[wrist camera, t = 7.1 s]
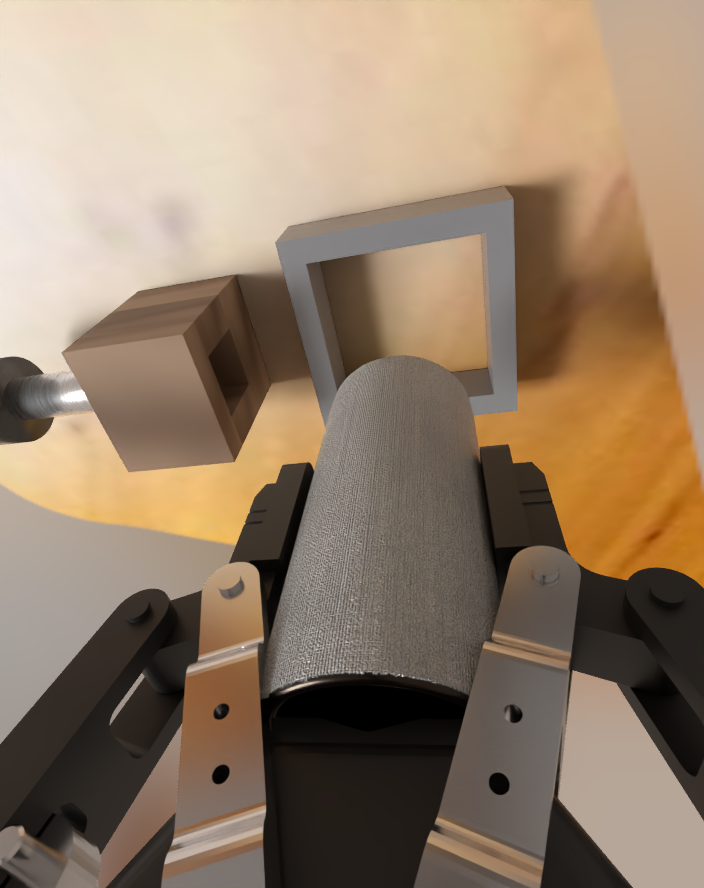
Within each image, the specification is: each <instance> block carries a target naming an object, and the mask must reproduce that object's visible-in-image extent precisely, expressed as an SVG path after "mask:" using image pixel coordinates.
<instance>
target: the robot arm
mask: <svg viewBox="0 0 704 888" xmlns="http://www.w3.org/2000/svg"><path fill="white" fill-rule="evenodd" d="M480 463H481V470H482V477H483V483H484V490H485V497H486V503H487V510H488V517H489V524H490V530H491V537H492V544H493V550H494V557H495V564H496V570H497V576H498V580H499V586H500V593H501V602H500V606H499V610H498V614H497V618H496V622H495V626H494V630H493V633H492V636H491V638H487V639H486V640H485V642H484V645H483V648H482V651H481V655H480V659H479V662H478V666H477V670H476V674H475V677H474V681H473V685H472V689H471V692H470V696H469V700H468V704H467V707H466V711H465V715H464V719H417V720H413V721H409V722H406V723H402V724H398V725H394V726H390V727H386V728H382V729H379V730H375V731H362V730H359V729H355V728H352V727H349V726H345V725H342V724H339V723H336V722H332V721H329V720H326V719H322V718H297V717H288V715H287V712H286V710H285V708H284V707H283V706H282V707H281V708H280V709H279V711H278V717H274V719H273V723H272V728H271V731H270V718H269V712H268V711H267V709H266V707H265V704H264V700H263V681H264V667H265V658H266V651H267V646H268V642H269V639H270V635H271V631H272V627H273V624H274V620H275V616H276V612H277V609H278V605H279V601H280V597H281V594H282V590H283V586H284V582H285V579H286V575H287V571H288V568H289V564H290V560H291V556H292V553H293V549H294V545H295V541H296V538H297V534H298V530H299V526H300V523H301V519H302V515H303V511H304V508H305V504H306V500H307V496H308V493H309V489H310V485H311V481H312V478H313V474H314V470H313V467H312V465H311V464H310V463H309V462H308V463H297V464H287V465H283V466H282V468H281V470H280V473H279V476H278V479H277V482H276V483H274V484H266V485H265V487H264V488H263V489H262V490H261V491H260V492H259V493H258V494H257V495H256V496H255V498H254V501H253V503H252V506H251V509H250V513H249V514H248V516H247V519H246V521H245V523H246V524H245V525H244V526H243V529H242V532H241V534H240V537H239V539H238V542H237V544H236V547H235V550H234V552H233V555H232V557H231V560H230V562H229V564H228V565H225V566H223V567H221V568H219V569H218V570H217V571H215V572H214V573H213V574H212V575H211V576H210V577H209V578H208V579H207V581H206V582H205V584H204V587H203V589H202V590H201V591H199V592H196V593H193V594H190V595H187V596H184V597H181V598H178V599H174V600H171V601H170V599H169V597H168V596H167V595H166V593H165V592H163V591H162V590H159V589H147V590H143V591H140V592H138V593H135V594H133V595H132V596H130V597H129V598H127V599H126V600H124V601H123V602H122V603H121V604H120V605H119V606H118V607H117V609H116V610H115V611H114V612H113V613H112V614H111V615H110V617H109V618H108V619H107V620H106V621H105V622H104V624H103V625H102V626H101V627H100V628H99V630H98V631H97V632H96V633H95V634H94V635H93V637H92V638H91V639H90V640H89V641H88V643H87V644H86V645H85V646H84V647H83V648H82V649H81V651H80V652H79V653H78V654H77V655H76V656H75V658H74V659H73V660H72V661H71V662H70V664H69V665H68V666H67V667H66V668H65V669H64V671H63V672H62V673H61V674H60V675H59V676H58V677H57V679H56V680H55V681H54V682H53V683H52V685H51V686H50V687H49V688H48V689H47V691H46V692H45V693H44V694H43V695H42V696H41V697H40V699H39V700H38V701H37V702H36V703H35V704H34V706H33V707H32V708H31V709H30V710H29V711H28V713H27V714H26V715H25V716H24V717H23V719H22V720H21V721H20V722H19V723H18V724H17V726H16V727H15V728H14V729H13V730H12V732H10V734H9V735H8V736H7V737H6V738H5V739H4V741H3V742H2V743H1V744H0V888H99V885H98V882H97V880H98V876H99V872H100V864H101V862H100V854H101V853H102V851H103V850H104V848H105V846H106V845H107V843H108V841H109V840H110V838H111V837H112V835H113V833H114V832H115V830H116V829H117V827H118V825H119V824H120V822H121V820H122V819H123V817H124V816H125V814H126V812H127V811H128V809H129V808H130V806H131V804H132V803H133V801H134V800H135V798H136V796H137V795H138V793H139V791H140V790H141V788H142V786H143V785H144V783H145V782H146V780H147V778H148V777H149V775H150V774H151V772H152V770H153V769H154V767H155V766H156V764H157V762H158V761H159V759H160V758H161V756H162V754H163V753H164V751H165V750H166V748H167V746H168V745H169V743H170V742H171V740H172V738H173V737H174V735H175V734H176V731H177V730H178V729H179V727H180V725H181V724H182V734H181V747H180V761H179V775H178V789H177V790H178V791H177V803H176V812H175V814H174V815H173V816H172V817H171V818H170V819H169V820H168V821H167V822H166V823H165V824H164V826H162V828H161V829H160V830H159V831H158V832H157V833H156V834H155V835H154V836H153V837H152V839H150V840H149V842H148V843H147V844H146V845H145V846H144V847H143V848H142V849H141V850H140V851H139V852H138V854H137V855H136V856H135V857H134V858H133V859H132V860H131V861H130V862H129V863H128V864H127V865H126V866H125V868H124V869H123V870H122V871H121V872H120V873H119V874H118V875H117V876H116V877H115V878H114V879H113V880H112V882H111V883H110V884H109V885H108V886H107V887H106V888H633V887H632V886H631V885H630V884H629V883H628V881H627V880H626V879H625V878H624V877H623V876H622V874H621V873H620V872H619V871H618V870H617V868H616V867H615V866H614V865H613V864H612V863H611V861H610V860H609V859H608V858H607V856H606V855H605V854H604V853H603V852H602V850H601V849H600V848H599V847H598V846H597V845H596V843H595V842H594V841H593V840H592V839H591V837H590V836H589V835H588V834H587V833H586V831H585V830H584V829H583V828H582V827H581V825H580V824H579V823H578V822H577V821H576V820H575V818H574V817H573V816H572V815H571V814H570V812H569V811H568V810H567V809H566V808H565V806H564V805H563V804H562V803H561V802H560V800H559V799H558V797H559V789H560V779H561V771H562V762H563V751H564V741H565V732H566V724H567V715H568V707H569V698H570V690H571V682H572V673H573V670H574V671H578V672H581V673H585V674H588V675H591V676H595V677H598V678H602V679H605V680H609V681H613V682H616V683H617V685H618V687H619V688H620V690H621V691H622V693H623V695H624V696H625V698H626V699H627V701H628V702H629V704H630V706H631V707H632V708H633V710H634V712H635V713H636V715H637V717H638V718H639V720H640V721H641V723H642V724H643V726H644V727H645V729H646V731H647V732H648V734H649V735H650V737H651V739H652V740H653V742H654V743H655V745H656V746H657V748H658V750H659V751H660V753H661V754H662V756H663V757H664V759H665V760H666V762H667V764H668V765H669V767H670V768H671V770H672V771H673V773H674V775H675V776H676V778H677V779H678V781H679V783H680V784H681V786H682V787H683V789H684V790H685V792H686V794H687V795H688V797H689V798H690V800H691V801H692V803H693V804H694V806H695V808H696V809H697V811H698V812H699V814H700V815H701V817H702V819H703V820H704V588H703V587H702V586H701V585H700V584H698V583H697V582H696V581H695V580H693V579H692V578H690V577H688V576H687V575H685V574H683V573H680V572H678V571H674V570H671V569H666V568H647V569H643V570H640V571H638V572H636V573H634V574H633V575H632V576H631V577H630V578H629V579H628V581H627V580H622V579H618V578H613V577H608V576H604V575H600V574H597V573H594V572H591V571H589V570H587V569H585V568H584V567H582V566H581V565H579V564H578V563H577V562H576V561H575V560H574V559H573V558H572V557H571V555H570V554H569V552H568V550H567V548H566V544H565V541H564V538H563V534H562V531H561V528H560V525H559V521H558V518H557V515H556V511H555V508H554V505H553V503H552V498H551V495H550V492H549V488H548V485H547V482H546V478H545V475H544V474H543V473H542V472H541V471H540V470H539V469H538V468H537V467H536V466H535V465H534V464H533V463H532V462H526V463H514V464H513V462H512V457H511V453H510V449H509V445H508V444H507V445H497V446H486V447H480ZM141 673H142V674H143V675H144V676H145V677H144V679H143V680H142V682H141V683H140V684H139V686H138V687H137V689H136V690H135V691H134V693H133V694H132V695H131V697H130V698H129V700H128V701H127V702H126V704H125V705H124V707H123V708H122V709H121V711H120V712H119V713H118V715H117V716H116V718H115V719H114V720H113V722H112V723H111V725H110V726H109V723H110V719H111V716H112V714H113V712H114V710H115V709H116V707H117V706H118V704H119V703H120V702H121V700H122V699H123V698H124V696H125V695H126V694H127V692H128V691H129V689H130V688H131V687H132V685H133V684H134V683H135V681H136V680H137V679H138V677H139V676H140V674H141Z"/></svg>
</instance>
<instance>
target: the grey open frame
mask: <svg viewBox="0 0 704 888" xmlns="http://www.w3.org/2000/svg"><path fill="white" fill-rule="evenodd" d="M476 234H481V244H482V262H483V281H484V300H485V319H486V338H487V357H488V368H486V369H478V370H469V371H461V372H453V373H452V374H453V375H454V376H455V377H456V378H457V379H458V380H459V382H460V383H461V384H462V385H463V387H464V389H465V390H466V392H467V394H468V397H469V400H470V403H471V407H472V411H473V415H482V414H491V413H501V412H510V411H517V356H516V302H515V247H514V199H513V197H512V196H511V194H510V193H509V191H508V190H507V189H506V187H505V186H501V187H496V188H490V189H485V190H480V191H475V192H469V193H464V194H459V195H453V196H448V197H443V198H438V199H432V200H427V201H422V202H416V203H411V204H406V205H401V206H395V207H390V208H385V209H379V210H374V211H369V212H364V213H358V214H353V215H348V216H342V217H337V218H332V219H327V220H321V221H316V222H311V223H305V224H300V225H295V226H289V227H288V228H287V229H286V230H285V231H284V233H283V234H282V235H281V236H280V238H279V239H278V240H277V241H276V242H275V243H276V247H277V251H278V254H279V258H280V262H281V265H282V269H283V273H284V277H285V280H286V284H287V288H288V291H289V295H290V299H291V302H292V306H293V310H294V313H295V317H296V321H297V325H298V328H299V332H300V336H301V339H302V343H303V347H304V350H305V354H306V358H307V361H308V365H309V369H310V372H311V376H312V380H313V384H314V387H315V391H316V395H317V398H318V402H319V406H320V409H321V413H322V417H323V420H324V424H325V428H326V425H327V422H328V418H329V414H330V410H331V407H332V404H333V402H334V399H335V396H336V394H337V392H338V390H339V388H340V386H341V385H342V383H343V382H344V381H345V379H346V375H345V370H344V366H343V362H342V357H341V353H340V348H339V344H338V340H337V335H336V331H335V327H334V322H333V318H332V313H331V309H330V305H329V300H328V296H327V292H326V287H325V283H324V279H323V274H322V270H321V265H320V261H326V260H331V259H337V258H343V257H349V256H354V255H360V254H366V253H372V252H378V251H383V250H389V249H395V248H401V247H407V246H412V245H418V244H424V243H430V242H435V241H441V240H447V239H453V238H459V237H464V236H470V235H476Z"/></svg>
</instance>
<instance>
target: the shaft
mask: <svg viewBox="0 0 704 888" xmlns="http://www.w3.org/2000/svg"><path fill="white" fill-rule="evenodd" d="M92 412H94V410H93V408H92V406H91V404H90V403H89V401H88V399H87V397H86V396H85V394H84V392H83V390H82V388H81V387H80V385H79V383H78V381H77V380H76V378H75V376H74V374H73V372H72V371H64V372H57V373H50V374H44V373H43V372H42V371H41V370H40V369H39V368H38V367H37V366H36V365H35V364H33V363H32V362H30V361H28V360H26V359H24V358H21V357H5V358H0V445H5V444H13V443H22V442H30V441H35V440H37V439H39V438H41V437H42V436H43V435H45V434H46V432H47V431H48V430H49V428H50V427H51V425H52V422H53V419H54V417H59V416H67V415H75V414H84V413H92Z"/></svg>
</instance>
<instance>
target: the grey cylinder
mask: <svg viewBox="0 0 704 888" xmlns="http://www.w3.org/2000/svg"><path fill="white" fill-rule="evenodd" d="M500 602H501V593H500V586H499V580H498V576H497V570H496V564H495V557H494V550H493V544H492V537H491V530H490V524H489V517H488V510H487V503H486V497H485V490H484V483H483V477H482V470H481V463H480V454H479V448H478V441H477V434H476V428H475V421H474V415H473V411H472V407H471V403H470V400H469V397H468V394H467V392H466V390H465V389H464V387H463V385H462V384H461V383H460V382H459V380H458V379H457V378H456V377H455V376H454V375H453V374H452V373H451V372H449V371H448V370H447V369H445V368H444V367H442V366H440V365H438V364H436V363H434V362H432V361H429V360H426V359H423V358H419V357H414V356H389V357H383V358H379V359H376V360H373V361H371V362H368V363H366V364H364V365H363V366H361V367H359V368H358V369H356V370H355V371H354V372H353V373H351V374H350V375H349V376H348V377H347V378H346V379H345V381H344V382H343V383H342V385H341V386H340V388H339V390H338V392H337V394H336V396H335V399H334V402H333V404H332V407H331V410H330V414H329V418H328V422H327V425H326V429H325V433H324V437H323V440H322V444H321V448H320V451H319V455H318V459H317V463H316V466H315V470H314V474H313V478H312V481H311V485H310V489H309V493H308V496H307V500H306V504H305V508H304V511H303V515H302V519H301V523H300V526H299V530H298V534H297V538H296V541H295V545H294V549H293V553H292V556H291V560H290V564H289V568H288V571H287V575H286V579H285V582H284V586H283V590H282V594H281V597H280V601H279V605H278V609H277V612H276V616H275V620H274V624H273V627H272V631H271V635H270V639H269V642H268V646H267V651H266V658H265V667H264V681H263V700H264V704H265V707H266V709H267V711H268V712H269V718H270V731H271V728H272V723H273V719H274V717H278V711H279V709H280V708H281V707H282V706H283V707H284V708H285V710H286V712H287V715H288V717H297V718H322V719H326V720H329V721H332V722H336V723H339V724H342V725H345V726H349V727H352V728H355V729H359V730H362V731H375V730H379V729H382V728H386V727H390V726H394V725H398V724H402V723H406V722H409V721H413V720H417V719H464V715H465V711H466V707H467V704H468V700H469V696H470V692H471V689H472V685H473V681H474V677H475V674H476V670H477V666H478V662H479V659H480V655H481V651H482V648H483V645H484V642H485V640H486V639H487V638H491V636H492V633H493V630H494V626H495V622H496V618H497V614H498V610H499V606H500Z"/></svg>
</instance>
